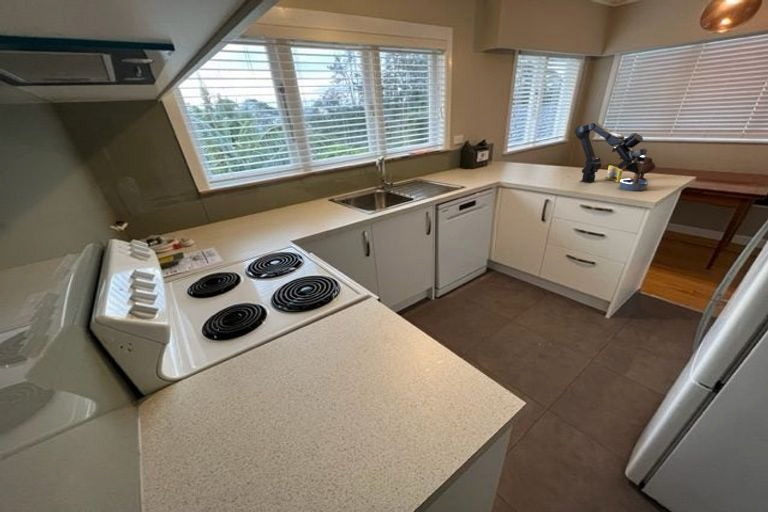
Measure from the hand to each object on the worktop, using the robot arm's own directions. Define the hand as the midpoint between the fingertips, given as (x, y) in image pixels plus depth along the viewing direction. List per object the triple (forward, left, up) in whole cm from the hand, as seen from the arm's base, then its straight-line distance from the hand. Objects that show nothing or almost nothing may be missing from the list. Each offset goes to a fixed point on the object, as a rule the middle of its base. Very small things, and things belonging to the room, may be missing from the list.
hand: (640, 173), depth 176 cm
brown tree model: (-11, +27, -10) cm, 31 cm away
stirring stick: (-1, 0, -7) cm, 7 cm away
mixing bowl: (-3, +1, -10) cm, 10 cm away
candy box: (-23, +17, -10) cm, 30 cm away
